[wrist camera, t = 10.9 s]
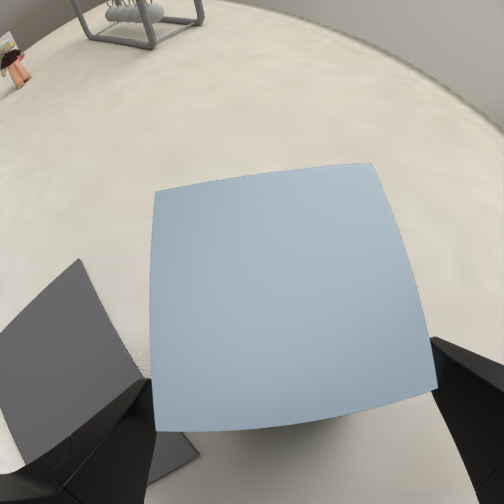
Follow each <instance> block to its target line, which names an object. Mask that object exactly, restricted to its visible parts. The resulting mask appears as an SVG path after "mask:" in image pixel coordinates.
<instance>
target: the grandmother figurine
mask: <svg viewBox="0 0 504 504" xmlns="http://www.w3.org/2000/svg"><path fill="white" fill-rule="evenodd" d="M10 50H11V43H10V41H9V40H4V41H2V42H1V43H0V53H1V54H2V55H4V57H3V58H2V64H1V70H2V76H3V77H4V76H6V67H7V68H8V69H9V72H10V75H11V78H12V80H13V82H14V83H15V85H17V87H16V89H20V88H21V87H22V86H23V85H24V84H25V83H24V82H26V81H28V80H29V79H30V78H31V76H29V73H28V72H27V71H26V69H25V68H24V67H23V65H22V64H21V63H20V61H19V59H18V57H17V56H20V57H21V58H22V57H24V53H22V52H21V51H20V50H17V49H14V50H11V51H10Z"/></svg>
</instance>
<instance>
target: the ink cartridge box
mask: <svg viewBox="0 0 504 504" xmlns="http://www.w3.org/2000/svg"><path fill="white" fill-rule="evenodd" d="M4 40H9V41H10V43H11V50H14V49H17V50H19V49H18V47H17V45H16V43H15V41H14V39H13V37H12V35H11V33H10V31H9V32H7V33H6V34H5V35H4V36H2V37H1V38H0V43H1V42H2V41H4ZM11 50H10V51H11ZM17 57H18V59H19V61H20V60H22V59H23V57H22V58H21V57H20V56H17Z"/></svg>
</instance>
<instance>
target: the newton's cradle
mask: <svg viewBox="0 0 504 504" xmlns="http://www.w3.org/2000/svg"><path fill="white" fill-rule="evenodd" d="M105 1H106V0H105ZM113 1H114V0H112V6H111V7H110V6H109V5H108V3H107V2H106V3H107V5H108V6H109V7H110V8H109V9H108V10H107V11H106V13H105V18H106V19H107V20H108V21H110V22H115V21H117V22H116V23H114V24H113V25H111V26H109V27H107V28H105V29H104V30H102V31H100V32H98V33H97V34H95V35H92V34H91V33H90V31H89V29H88V26H87V24H86V22H85V19H84V17H83V15H82V12H81V10H80V8H79V5H78V3H77V0H71V2H72V5H73V7H74V9H75V11H76V14H77V16H78V19H79V21H80V23H81V26H82V28H83V30H84V33H85V34H86V36H87V37H88V38H89V39H91V40H98V41H106V42H112V43H119V44H124V45H130V46H135V47H140V48H145V49H152V48H154V47H155V45H156V43H157V42H159V41H161V40H163V39H165V38H167V37H169V36H171V35H173V34H175V33H177V32H179V31H181V30H183V29H185V28H187V27H189V26H192V25H200V24H202V23H203V21H204V18H205V16H204V10H203V5H202V0H194V3H195V7H196V12H197V19H188V18H177V17H164V16H163V15H164V10H163V8H162V7H161V6H160V5H158V4H152V0H151V4H147V2H146V0H136V4H137V5H136V4H135V3H134V1H133V0H132V1H133V3H134V4H135V5H130V1H129V5H127V6H126V4H125V3H124V1H123V0H122V1H123V3H124V4H125V5H122V3H121V0H115V1H116V3H115V1H114V3H115V4H116V6H113ZM145 2H146V4H147V5H148V6H147V5H146V4H145ZM124 21H125V22H133V21H134V22H136V23H142V22H143V25H144V28H145V31H146V34H147V37H148V40H149V42H144V41H138V40H132V39H125V38H117V37H109V36H99V35H98V34H100V33H101V32H103V31H105V30H107V29H108V28H110V27H112V26H114V25H116V24H117V23H119V22H124ZM159 21H161V22H172V23H181V24H189V25H187V26H184V27H182V28H180V29H178V30H176V31H174V32H172V33H170V34H168V35H166V36H164V37H162V38H160V39H158V40H156V36H155V33H154V30H153V27H152V24H153V23H157V22H159Z"/></svg>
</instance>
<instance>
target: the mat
mask: <svg viewBox="0 0 504 504" xmlns="http://www.w3.org/2000/svg"><path fill="white" fill-rule="evenodd" d="M140 378H144V377H143V376H142V374H141V372H140V371H139V369H138V368H137V366H136V364H135V363H134V361H133V359H132V358H131V356H130V354H129V353H128V351H127V349H126V348H125V346H124V344H123V343H122V341H121V339H120V337H119V336H118V334H117V332H116V330H115V328H114V326H113V325H112V323H111V321H110V319H109V317H108V315H107V313H106V311H105V310H104V308H103V306H102V304H101V302H100V300H99V298H98V296H97V294H96V292H95V289H94V287H93V285H92V283H91V281H90V279H89V277H88V275H87V272H86V270H85V268H84V266H83V263H82V261H81V260H80V259H79V258H78V259H77V260H76V261H75V262H74V263H73V264H72V265H70V266H69V267H68V268H67V269H66V270H65V271H64V272H62V273H61V274H60V275H59V276H58V277H57V278H56V279H55V280H54V281H53V282H51V283H50V284H49V285H48V286H47V287H46V288H45V289H44V290H43V291H42V292H41V293H40V294H39V295H38V296H37V297H35V298H34V299H33V300H32V301H31V302H30V303H29V304H28V305H27V306H26V307H25V308H24V309H23V310H22V311H21V312H20V313H19V314H18V315H17V316H16V317H15V318H14V319H13V320H12V321H11V322H10V323H9V325H8V326H7V327H6V328H5V329H4V330H3V331H2V332H1V333H0V407H1V410H2V413H3V415H4V418H5V420H6V423H7V425H8V428H9V430H10V432H11V435H12V437H13V439H14V441H15V443H16V446H17V448H18V450H19V452H20V454H21V456H22V458H23V460H24V462H25V464H26V465H27V464H29V463H30V462H32V461H33V460H35V459H37V458H38V457H40V456H41V455H43V454H44V453H46V452H47V451H49V450H50V449H52V448H53V447H55V446H56V445H57V444H59V443H60V442H61V441H63V440H64V439H65V438H66V437H68V436H70V435H71V433H73V432H74V431H75V430H76V429H78V428H79V427H80V426H81V425H83V424H84V423H85V422H86V421H88V420H89V419H90V418H91V417H93V416H94V415H95V414H96V413H98V412H99V411H100V410H101V409H103V408H104V407H105V406H106V405H107V404H109V403H110V402H111V401H112V400H114V399H115V398H116V397H117V396H118V395H120V394H121V393H122V392H123V391H124V390H126V389H127V388H128V387H129V386H131V385H132V384H133V383H134V382H135V381H137V380H138V379H140ZM198 455H199V453H198V451H197V450H196V449H195V448H194V446H193V445H192V444H191V443H190V441H189V440H188V439H187V438H186V436H185V435H184V434H183V432H168V431H157V438H156V444H155V448H154V453H153V458H152V463H151V468H150V473H149V478H148V483H147V484H149V483H151V482H153V481H155V480H157V479H159V478H160V477H162V476H164V475H166V474H167V473H169V472H171V471H173V470H174V469H176V468H178V467H179V466H181V465H183V464H185V463H186V462H188V461H189V460H191V459H193V458H194V457H196V456H198Z"/></svg>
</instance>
